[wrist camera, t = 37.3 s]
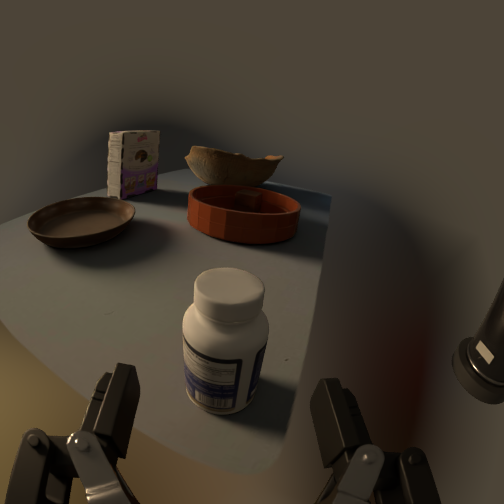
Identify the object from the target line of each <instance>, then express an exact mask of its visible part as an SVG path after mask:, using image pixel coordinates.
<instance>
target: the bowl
mask: <svg viewBox="0 0 504 504" xmlns="http://www.w3.org/2000/svg"><path fill="white" fill-rule="evenodd" d="M242 189H246V190H251V191H256V192H261V193H262V200H261V207H260V212H259V213H249V212H241V211H235V210H234V203H235V195H236V192H238V191H240V190H242ZM300 211H301V206H300V204H299V203H298V202H297V201H296V200H294V199H292V198H290V197H288V196H286V195H283V194H281V193H277V192H274V191H270V190H266V189H261V188H256V187H249V186H240V185H207V186H201V187H197V188H194V189H192V190H191V191H190V192H189V200H188V216H187V220H188V222H189V223H190V225H191V226H193V227H194V228H195V229H197V230H199V231H201V232H203V233H205V234H207V235H209V236H212V237H215V238H218V239H222V240H226V241H231V242H237V243H246V244H267V243H274V242H279V241H284V240H287V239H289V238H291V237H293V236H294V234H295V233H296V231H297V226H298V221H299V216H300Z"/></svg>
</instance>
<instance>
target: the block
mask: <svg viewBox="0 0 504 504" xmlns="http://www.w3.org/2000/svg"><path fill="white" fill-rule="evenodd" d="M261 200H262V193H261V192H256V191H251V190H246V189H242V190H240V191H238V192H236V195H235V203H234V210H235V211H241V212H249V213H259V212H260V207H261Z"/></svg>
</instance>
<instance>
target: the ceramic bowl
mask: <svg viewBox="0 0 504 504" xmlns="http://www.w3.org/2000/svg"><path fill="white" fill-rule="evenodd" d="M283 158H284V157H283V156H281V155H279V156H276V157H275V156H266V158H259V159H250V158H249V157H246V156H244V155H243V154H233V153H229V152H225V151H222V150H218V149H215V148H206V147H197V146H192V149H191V151H190V154H189V155H188V156H187V157H185V159H186V161H187V163H188V165H189V167H190V168H191V170H192V171H193V172H194V174H195V175H196V176H197V177H198V178H199V179H201V180H202V181H203V182H205V183H206V184H210V185H240V186H249V187H255V186H258V185H260V184H262V183H263V182H265V181H266V180H268V179H269V178H270V177H271V176H272V175H273V173H274V172H275V169H276V168H277V165H278V163H279V162H280V161H281V160H282V159H283Z"/></svg>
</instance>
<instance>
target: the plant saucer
mask: <svg viewBox="0 0 504 504" xmlns="http://www.w3.org/2000/svg"><path fill="white" fill-rule="evenodd" d="M134 214H135V208H134V206H133V205H131V204H130V203H128V202H126V201H123V200H120V199H115V198H108V197H82V198H74V199H68V200H64V201H59V202H56V203H53V204H50V205H48V206H45V207H43V208H41V209H39V210H38V211H36V212H35V213H33V214H32V215H31V216H30V218H29V219H28V221H27V228H28V229H29V231H30V232H31V233H32V234H33V235H34V236H35V237H36V238H37V239H38V240H40V241H41V242H43V243H45V244H47V245H49V246H52V247H57V248H81V247H87V246H92V245H96V244H99V243H102V242H105V241H107V240H110V239H112V238H113V237H115V236H117V235H118V234H119V233H121V232H122V231H123V230H124V229H125V228H126V227H127V226H128V224H129V223H130V222H131V220H132V218H133V217H134Z"/></svg>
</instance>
